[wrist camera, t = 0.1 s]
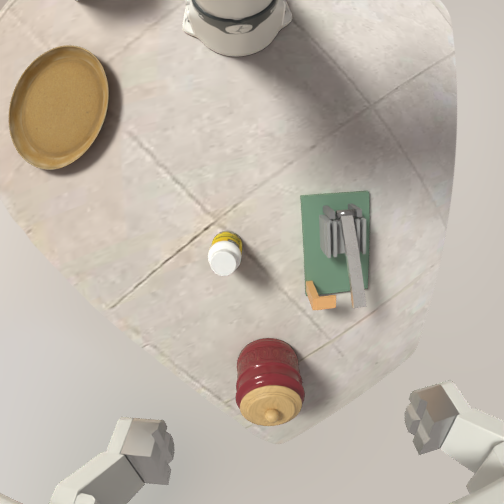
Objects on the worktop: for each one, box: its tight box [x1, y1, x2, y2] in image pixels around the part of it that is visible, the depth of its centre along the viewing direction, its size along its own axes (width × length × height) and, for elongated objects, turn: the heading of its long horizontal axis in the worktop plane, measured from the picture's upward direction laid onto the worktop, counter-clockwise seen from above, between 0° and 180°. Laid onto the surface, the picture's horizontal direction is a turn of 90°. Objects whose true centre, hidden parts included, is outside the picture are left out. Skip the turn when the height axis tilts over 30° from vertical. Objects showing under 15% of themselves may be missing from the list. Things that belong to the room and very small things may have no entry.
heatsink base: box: [300, 191, 369, 296], centre depth 55 cm, size 19×12×6 cm, turn 6°
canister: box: [236, 338, 305, 426], centre depth 58 cm, size 13×13×18 cm
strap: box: [336, 209, 366, 308], centre depth 48 cm, size 16×3×1 cm
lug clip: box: [306, 281, 336, 310], centre depth 56 cm, size 2×4×7 cm, turn 96°
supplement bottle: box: [208, 231, 242, 276], centre depth 53 cm, size 5×5×10 cm
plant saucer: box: [9, 45, 109, 170], centre depth 46 cm, size 24×24×3 cm
